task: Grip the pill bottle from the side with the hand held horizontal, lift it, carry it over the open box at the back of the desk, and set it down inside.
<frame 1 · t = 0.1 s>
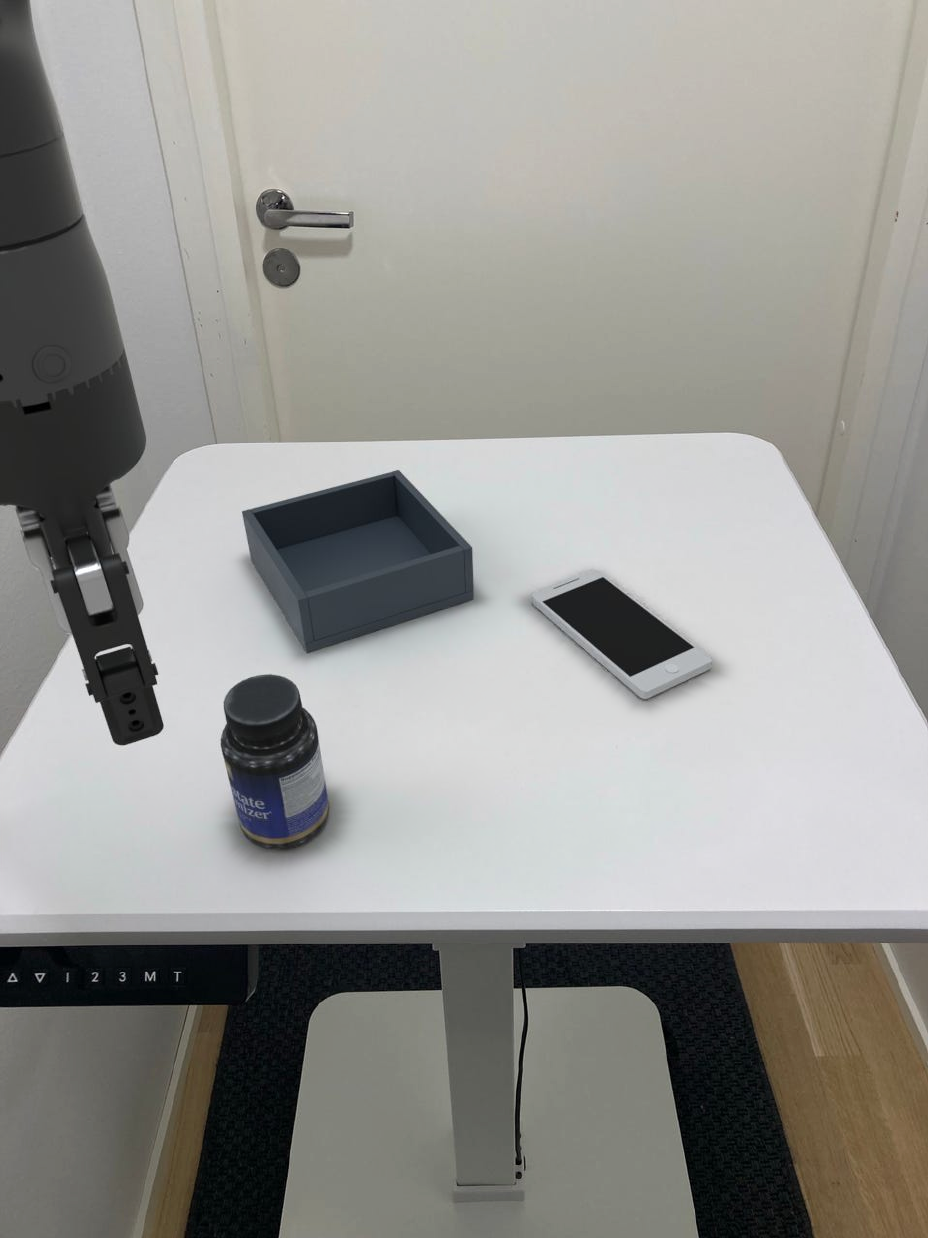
hand: (120, 679, 46), 21 cm above the table, tool pointing down, fingers open, 8 cm apart
pill bottle: (286, 819, 67), on the table
open box: (359, 579, 89), on the table
smartphone: (616, 634, 82), on the table
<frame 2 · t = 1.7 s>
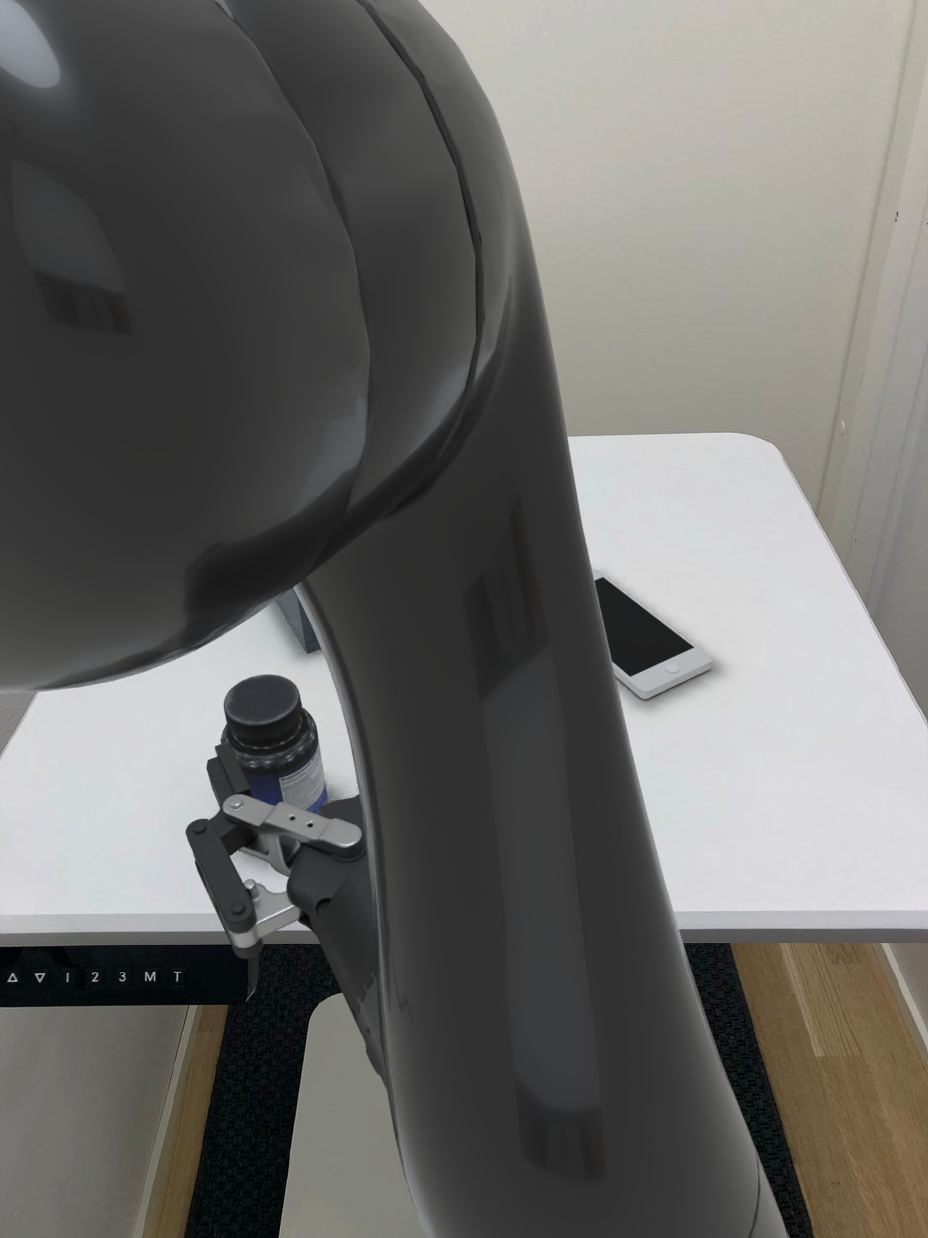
hand: (308, 726, 48), 18 cm above the table, tool horizontal, fingers open, 8 cm apart
nothing on the table moved.
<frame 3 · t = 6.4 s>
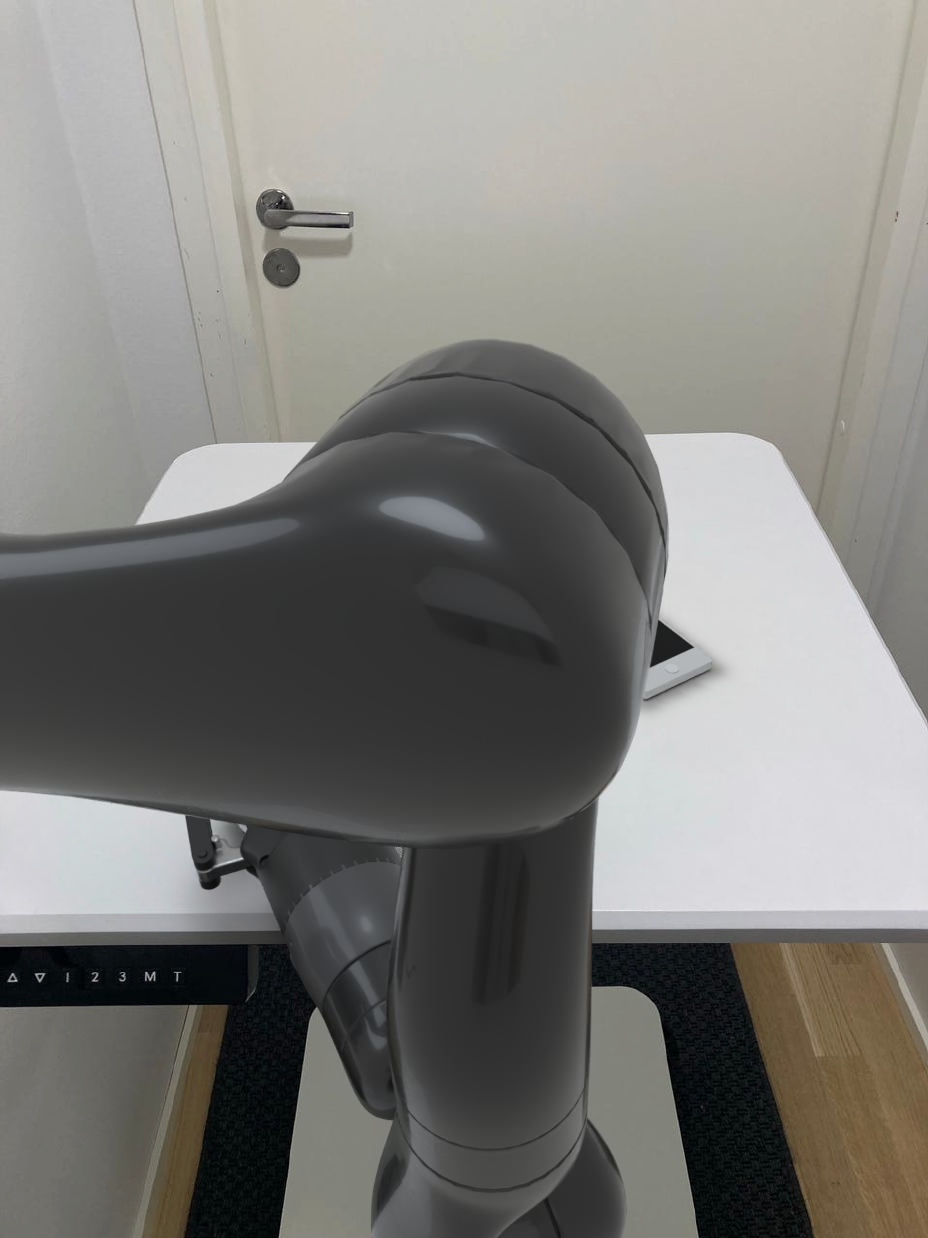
hand: (260, 727, 65), 7 cm above the table, tool horizontal, fingers closed on pill bottle, 6 cm apart
pill bottle: (286, 819, 67), on the table, touching gripper
everything else where it was.
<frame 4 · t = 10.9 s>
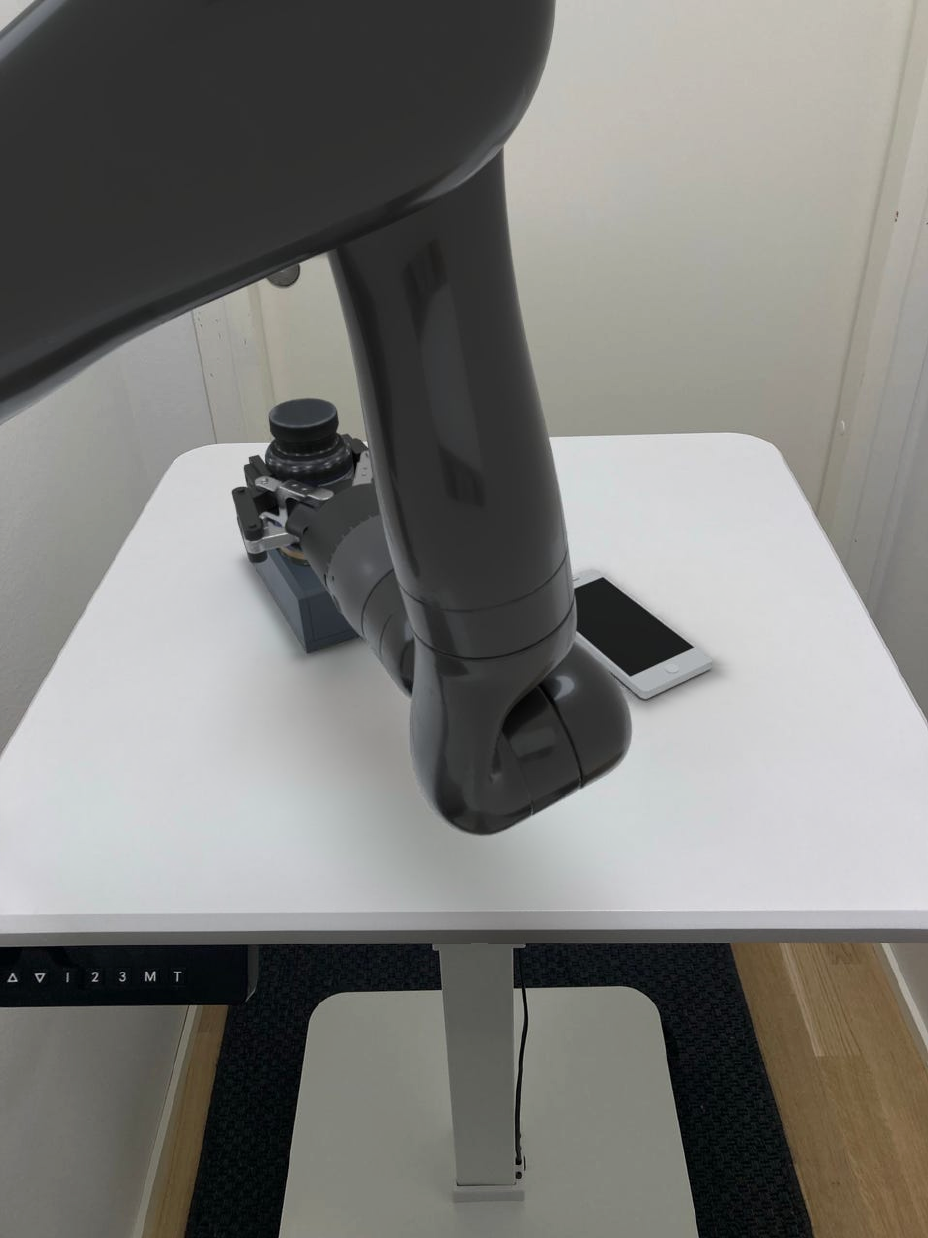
hand: (299, 456, 71), 18 cm above the table, tool horizontal, fingers closed on pill bottle, 6 cm apart
pill bottle: (321, 550, 73), point 11 cm above the table, touching gripper
everything else where it was.
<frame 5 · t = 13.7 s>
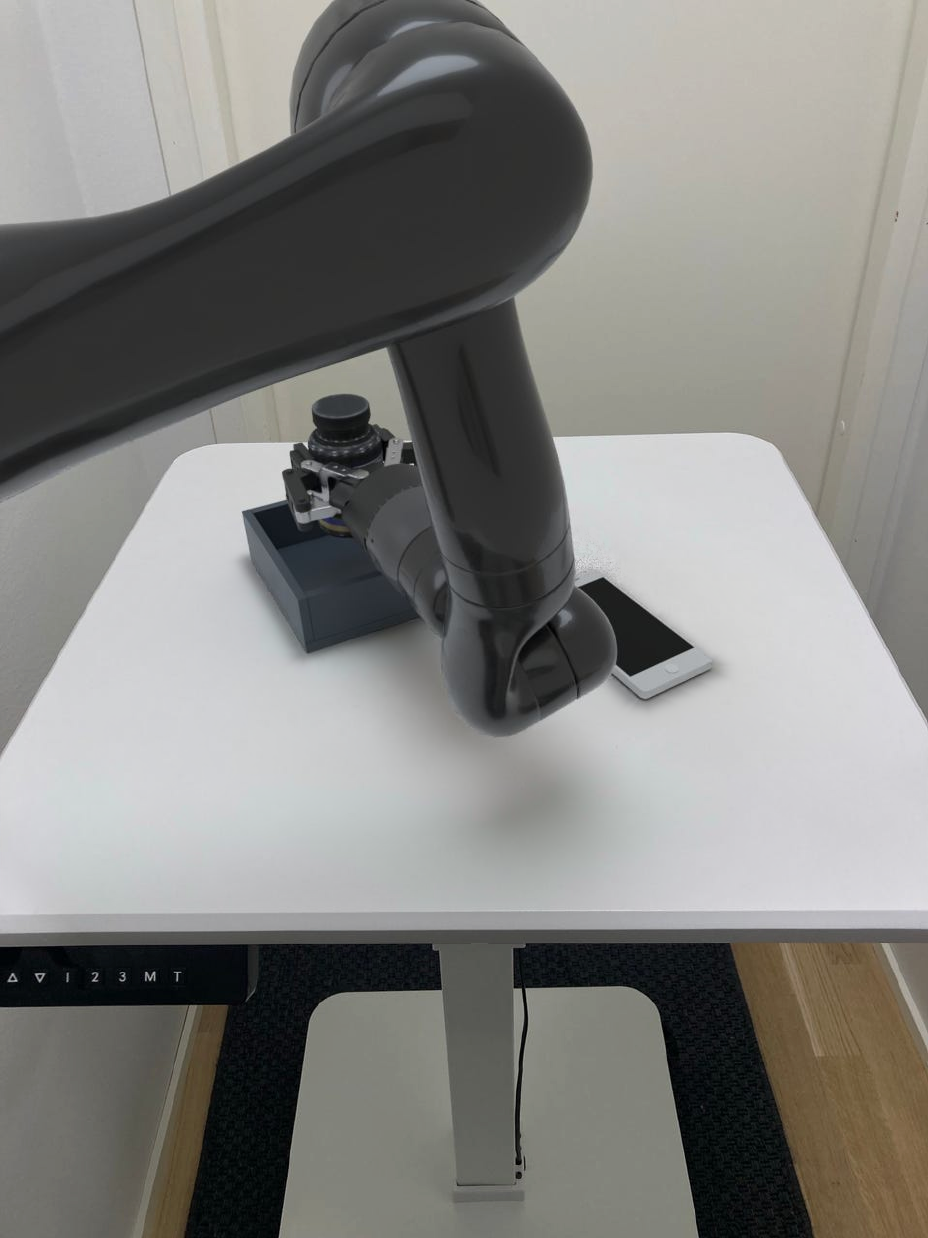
hand: (335, 444, 83), 13 cm above the table, tool horizontal, fingers closed on pill bottle, 6 cm apart
pill bottle: (354, 524, 86), point 6 cm above the table, touching gripper
everything else where it was.
when the fingers open (8 cm above the table, at t = 15.8 s): pill bottle stays where it is, resting on open box.
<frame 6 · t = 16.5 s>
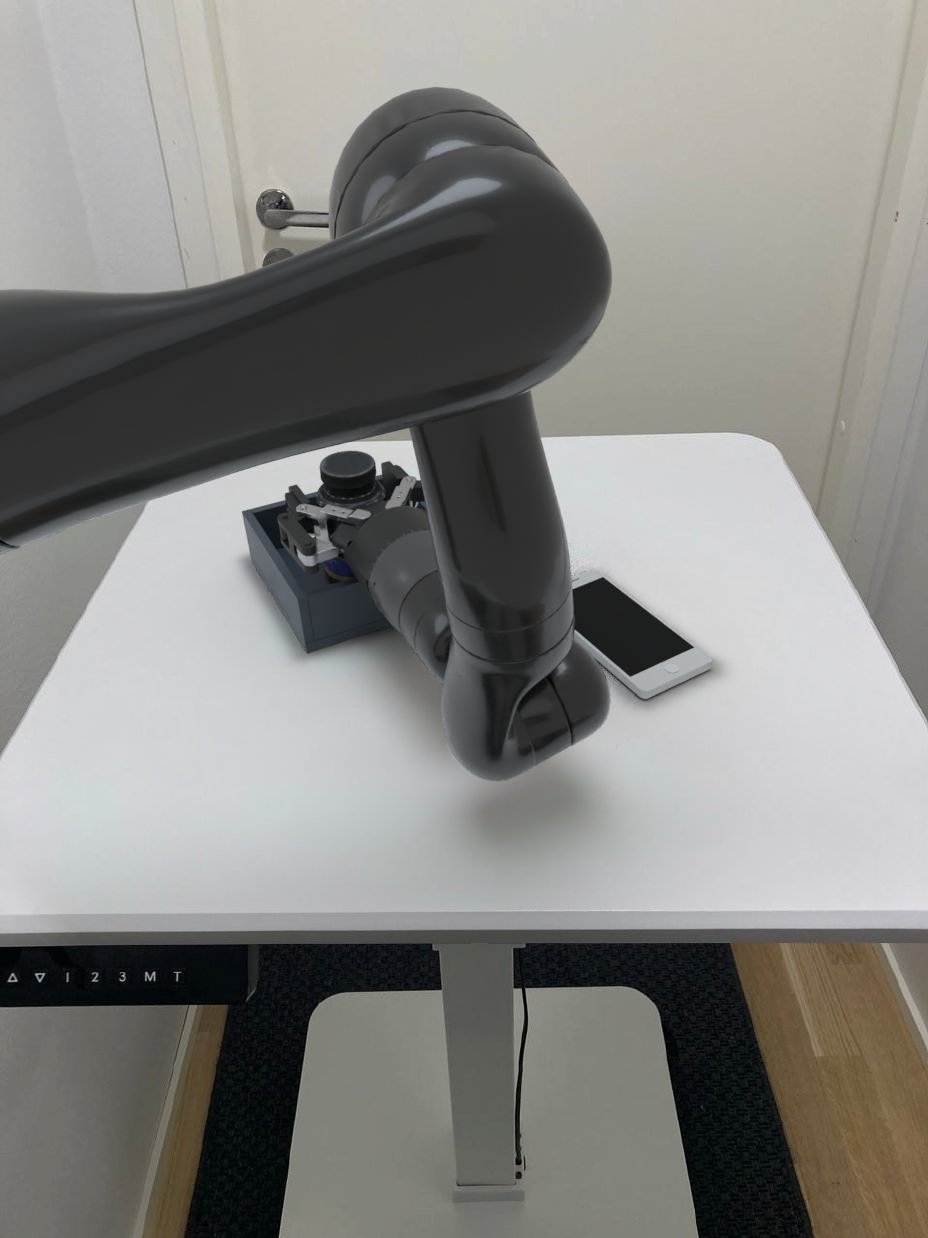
hand: (339, 482, 85), 9 cm above the table, tool horizontal, fingers open, 8 cm apart
pill bottle: (359, 573, 89), point 1 cm above the table, touching open box
everything else where it was.
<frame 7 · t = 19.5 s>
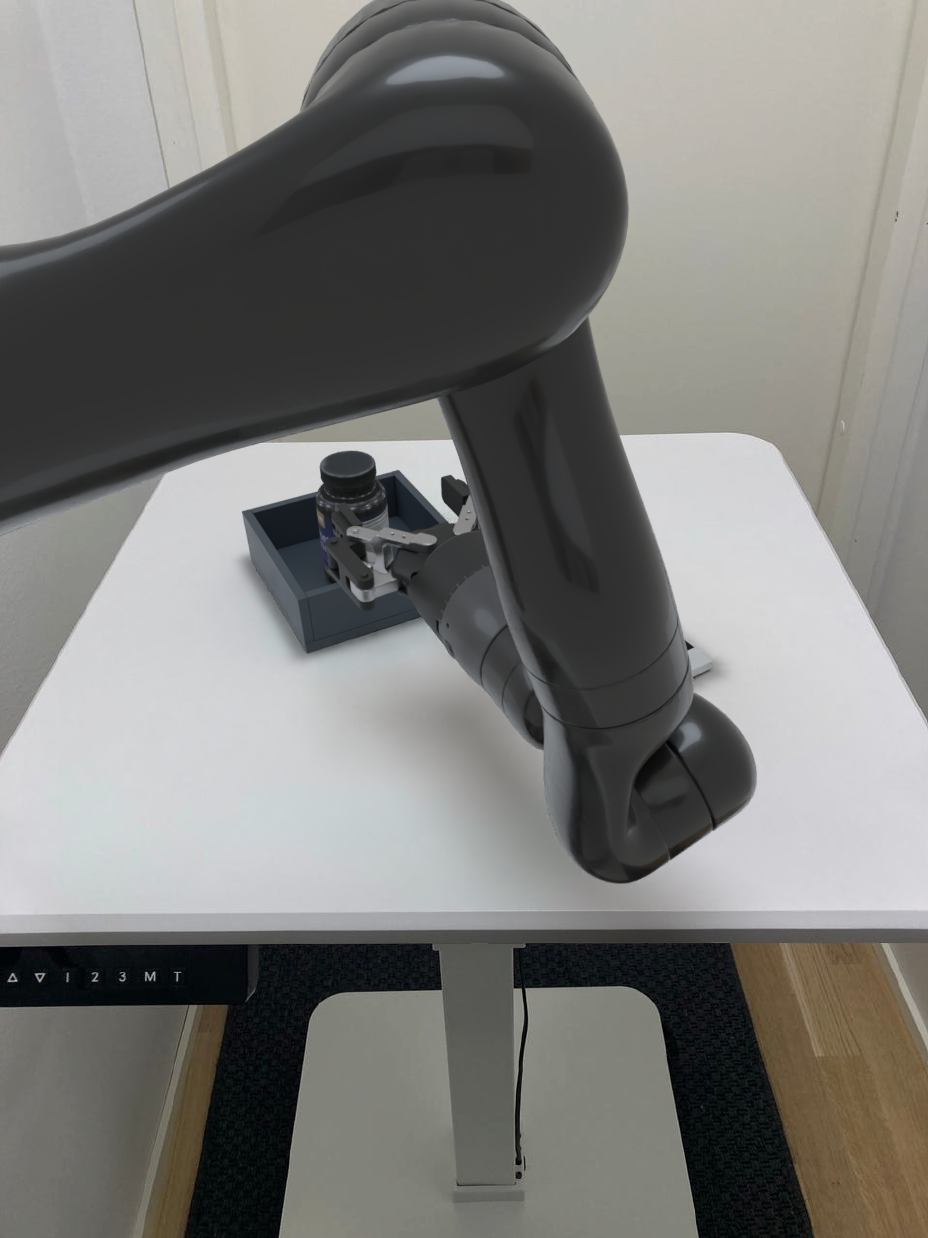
hand: (393, 500, 73), 14 cm above the table, tool horizontal, fingers open, 8 cm apart
nothing on the table moved.
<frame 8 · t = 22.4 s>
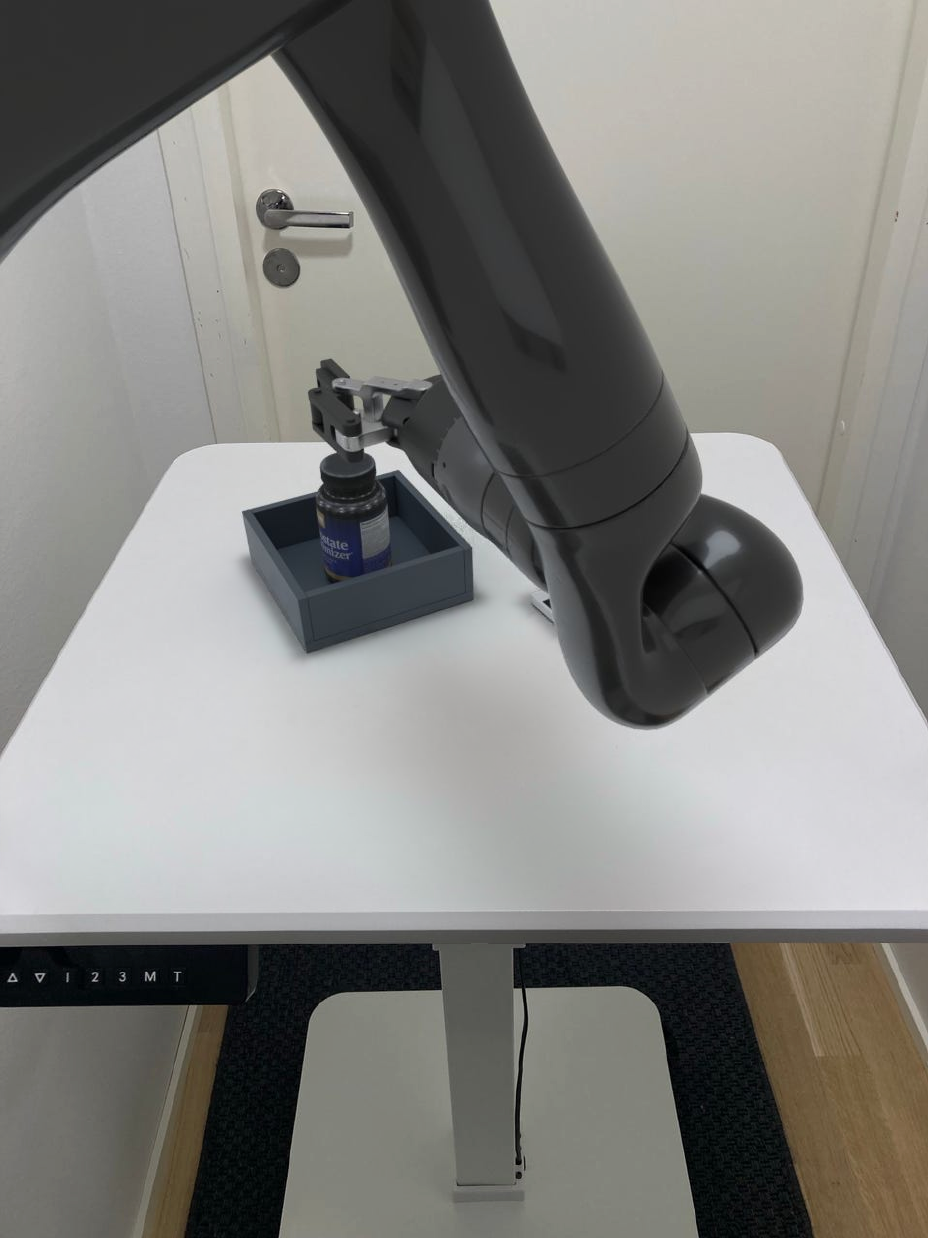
hand: (385, 360, 66), 25 cm above the table, tool horizontal, fingers open, 8 cm apart
nothing on the table moved.
at the end: pill bottle inside the target area in the open box (0.2 cm from its centre), point 0.8 cm above the open box's base; the gripper is holding nothing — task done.
